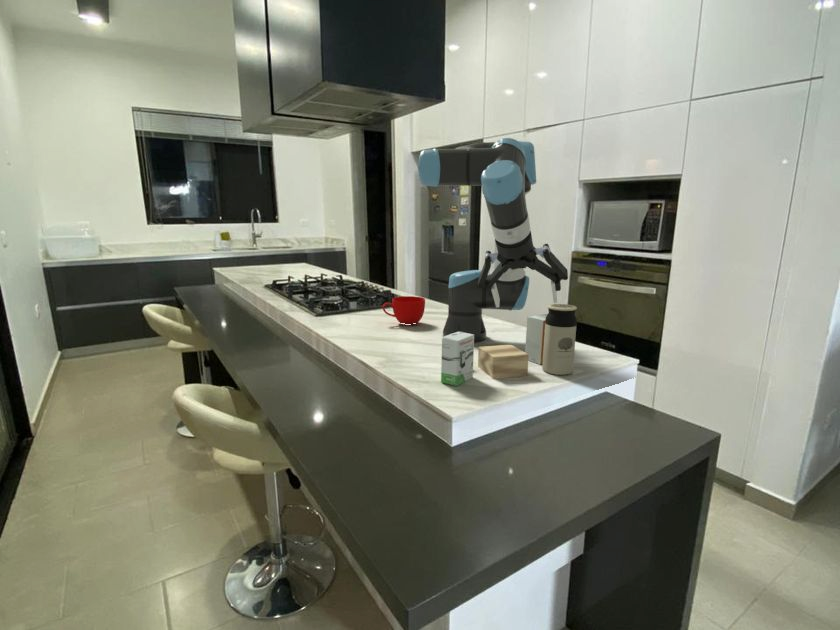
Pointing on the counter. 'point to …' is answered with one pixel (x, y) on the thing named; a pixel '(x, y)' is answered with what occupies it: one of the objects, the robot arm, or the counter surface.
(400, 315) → the ceramic cup
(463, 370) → the ink box
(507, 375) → the oak block
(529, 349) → the small box
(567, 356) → the travel mug
